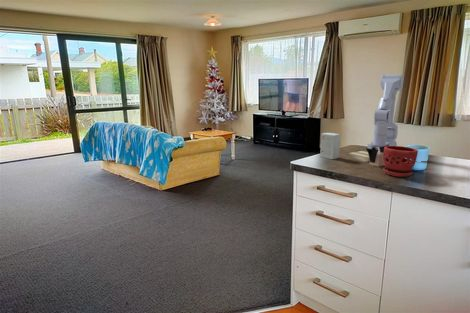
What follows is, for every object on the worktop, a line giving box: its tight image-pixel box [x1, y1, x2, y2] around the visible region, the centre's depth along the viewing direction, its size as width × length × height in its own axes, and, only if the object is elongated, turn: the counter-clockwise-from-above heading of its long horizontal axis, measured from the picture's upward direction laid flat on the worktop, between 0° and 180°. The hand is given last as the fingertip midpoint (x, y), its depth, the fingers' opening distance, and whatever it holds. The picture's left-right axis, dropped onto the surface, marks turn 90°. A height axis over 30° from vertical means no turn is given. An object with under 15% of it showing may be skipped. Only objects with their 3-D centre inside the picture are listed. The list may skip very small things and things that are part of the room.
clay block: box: [368, 152, 385, 167], centre depth 153 cm, size 5×5×6 cm
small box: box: [319, 132, 341, 160], centre depth 167 cm, size 8×6×13 cm
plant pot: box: [382, 145, 419, 178], centre depth 137 cm, size 13×13×12 cm
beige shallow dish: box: [347, 150, 370, 163], centre depth 166 cm, size 11×11×3 cm
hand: (377, 161), depth 153 cm, fingers open, 7 cm apart
